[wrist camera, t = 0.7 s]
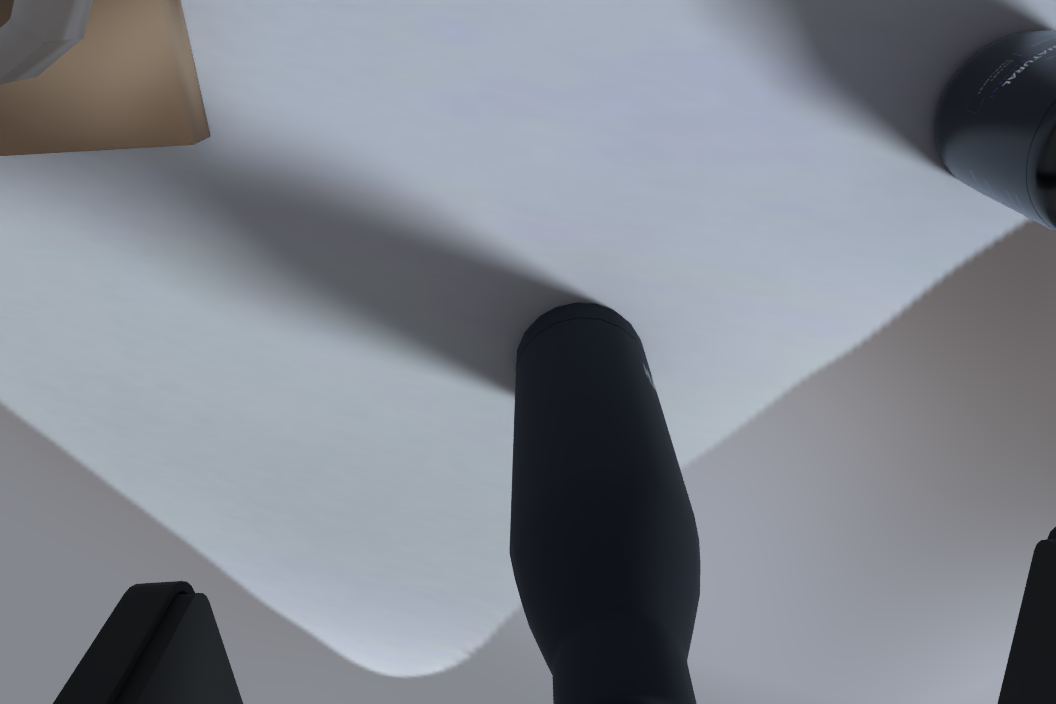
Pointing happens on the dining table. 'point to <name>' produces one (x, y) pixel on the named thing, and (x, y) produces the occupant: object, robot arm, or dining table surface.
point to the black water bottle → (600, 515)
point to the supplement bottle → (1005, 124)
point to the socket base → (96, 76)
